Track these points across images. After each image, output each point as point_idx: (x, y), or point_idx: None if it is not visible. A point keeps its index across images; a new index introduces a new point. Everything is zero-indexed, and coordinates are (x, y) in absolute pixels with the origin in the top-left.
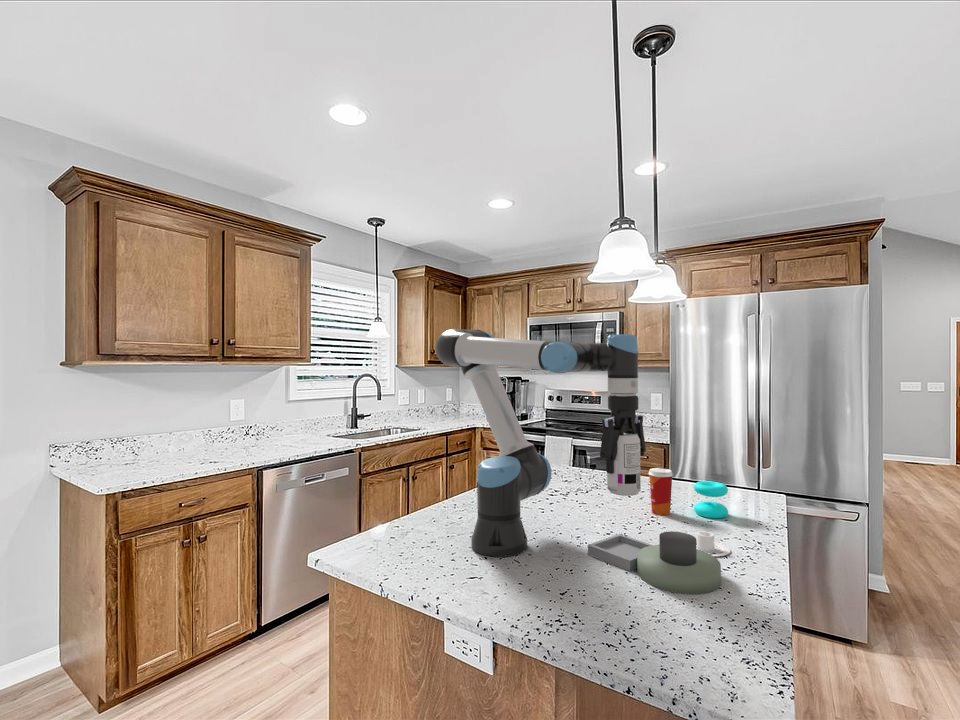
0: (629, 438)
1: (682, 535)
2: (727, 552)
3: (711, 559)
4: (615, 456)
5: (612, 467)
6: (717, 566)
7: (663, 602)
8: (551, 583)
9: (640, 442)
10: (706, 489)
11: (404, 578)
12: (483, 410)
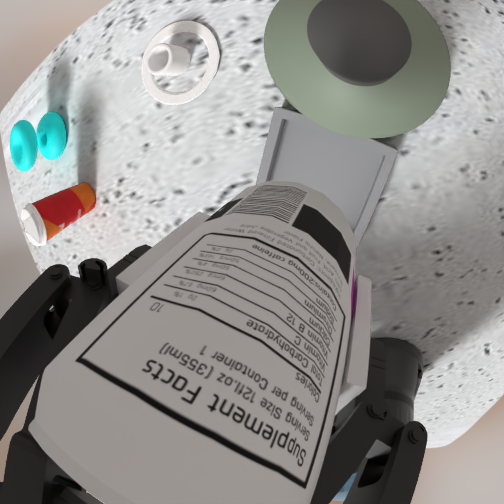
0: None
1: (334, 25)
2: (178, 24)
3: None
4: (358, 417)
5: (371, 365)
6: None
7: (481, 72)
8: (491, 263)
9: (37, 324)
10: (28, 143)
11: (490, 392)
12: None
